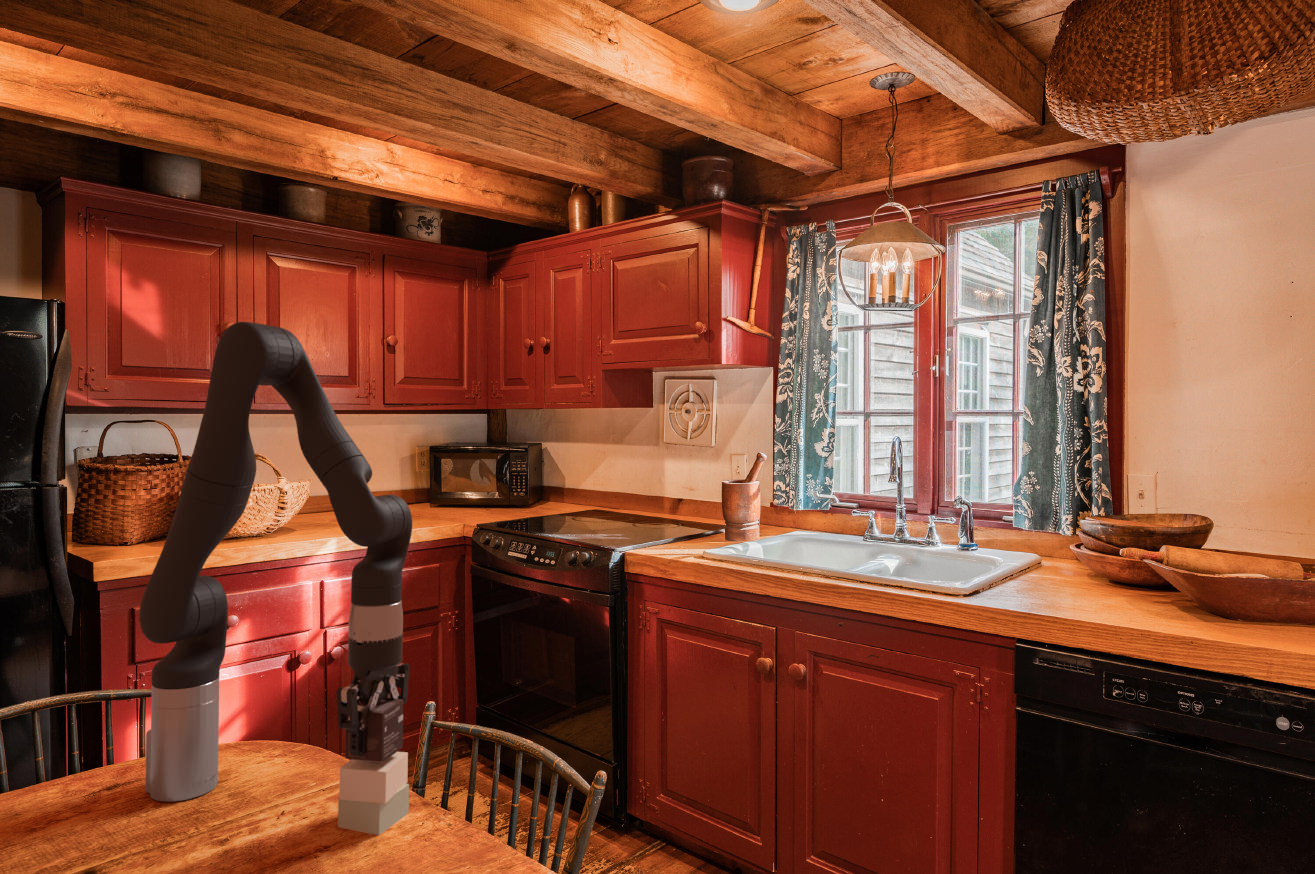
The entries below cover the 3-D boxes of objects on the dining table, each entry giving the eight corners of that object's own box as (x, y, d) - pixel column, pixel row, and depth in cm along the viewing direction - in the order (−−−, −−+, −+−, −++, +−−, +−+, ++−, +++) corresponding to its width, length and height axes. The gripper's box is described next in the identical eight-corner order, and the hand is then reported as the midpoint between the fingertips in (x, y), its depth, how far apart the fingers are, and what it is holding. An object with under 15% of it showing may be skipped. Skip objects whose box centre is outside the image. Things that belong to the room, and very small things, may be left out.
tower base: (338, 827, 115) (338, 796, 115) (369, 806, 122) (369, 777, 122) (379, 836, 113) (379, 804, 113) (408, 813, 120) (409, 784, 120)
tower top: (339, 799, 114) (339, 768, 114) (363, 778, 121) (364, 748, 121) (385, 803, 113) (386, 771, 113) (407, 782, 120) (407, 752, 120)
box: (381, 764, 113) (382, 712, 113) (343, 759, 115) (344, 708, 115) (403, 747, 119) (404, 698, 119) (367, 743, 121) (368, 695, 120)
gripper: (384, 618, 125) (382, 725, 125) (320, 641, 111) (318, 760, 111) (426, 623, 123) (424, 731, 123) (365, 647, 109) (363, 768, 109)
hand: (373, 744), depth 117 cm, fingers closed on box, 6 cm apart
